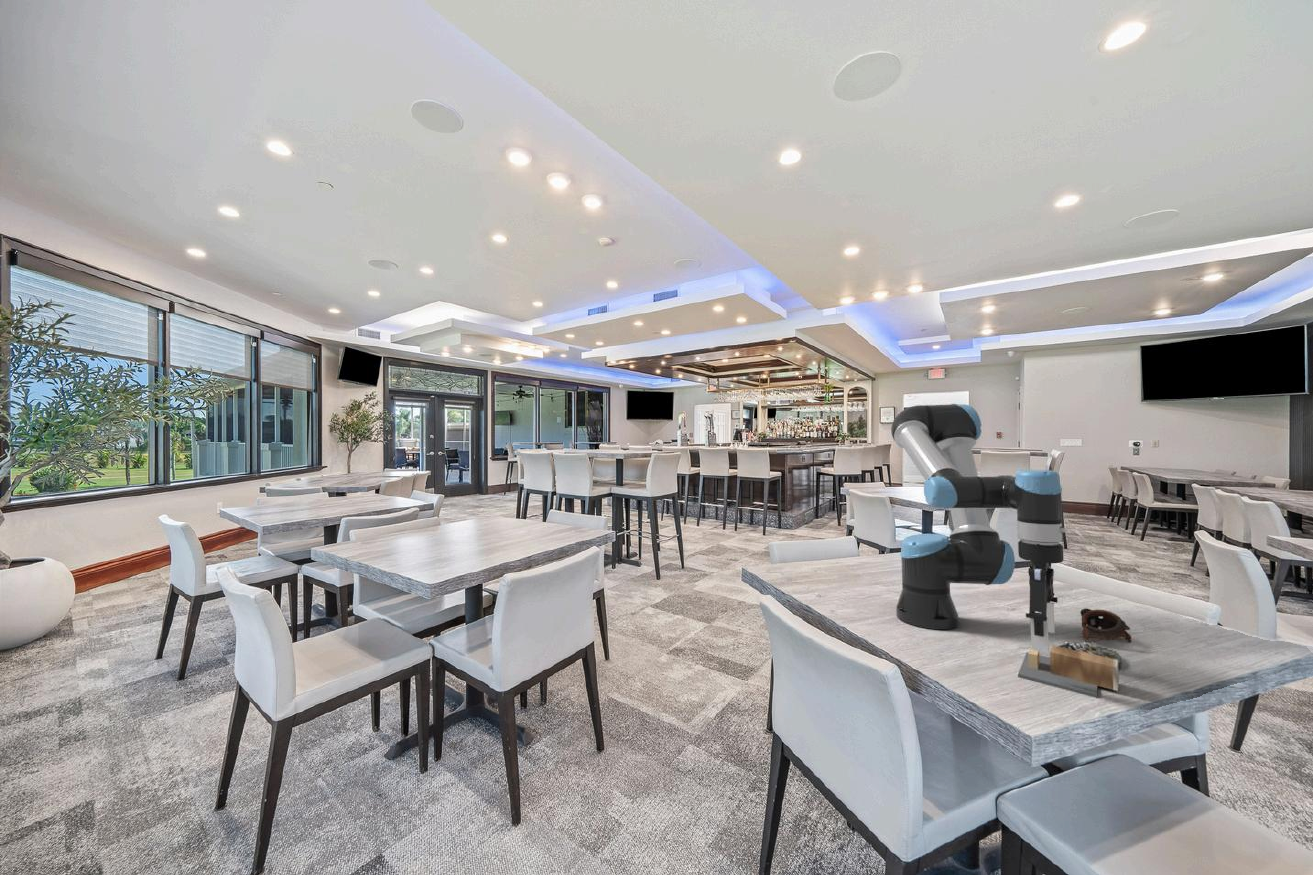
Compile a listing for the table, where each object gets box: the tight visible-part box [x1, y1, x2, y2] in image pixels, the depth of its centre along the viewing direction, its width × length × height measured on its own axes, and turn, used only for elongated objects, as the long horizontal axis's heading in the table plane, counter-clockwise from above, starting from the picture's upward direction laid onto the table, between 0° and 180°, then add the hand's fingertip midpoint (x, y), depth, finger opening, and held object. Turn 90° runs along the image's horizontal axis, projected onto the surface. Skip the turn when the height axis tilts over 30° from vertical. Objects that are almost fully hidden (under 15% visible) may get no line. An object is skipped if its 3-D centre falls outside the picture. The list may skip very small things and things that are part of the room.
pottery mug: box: [1080, 607, 1132, 643], centre depth 116 cm, size 12×10×8 cm
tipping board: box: [1017, 646, 1099, 698], centre depth 98 cm, size 12×14×4 cm
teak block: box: [1049, 645, 1120, 692], centre depth 95 cm, size 4×4×10 cm
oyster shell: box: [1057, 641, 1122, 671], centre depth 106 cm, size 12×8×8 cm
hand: (1043, 640), depth 100 cm, fingers open, 13 cm apart
